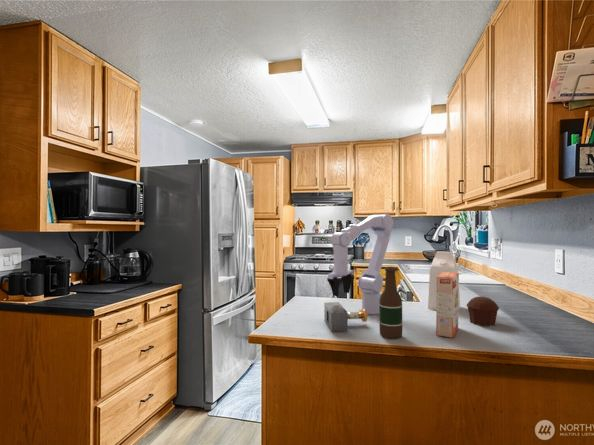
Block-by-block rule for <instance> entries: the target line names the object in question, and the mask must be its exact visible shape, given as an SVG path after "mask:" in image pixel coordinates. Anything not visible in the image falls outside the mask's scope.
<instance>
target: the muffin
mask: <svg viewBox="0 0 594 445" xmlns="http://www.w3.org/2000/svg"><path fill="white" fill-rule="evenodd" d="M466 307H467V312H468V316H469V322H470V323H471V324H473V325H475V326H480V327H495V326H496V321H497V316H498V311H499V309H500V306H498V304H497V303H496V302H495V301H494V300H493V299H491V298H489V297H486V296H476V297H473V298H471V299H469V301H468V302H467V304H466Z"/></svg>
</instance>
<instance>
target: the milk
mask: <svg viewBox="0 0 594 445" xmlns="http://www.w3.org/2000/svg"><path fill="white" fill-rule="evenodd" d="M443 272H453V273H459V266H458V264H457V261H456V259H455V257H454V255H453V253H452V251H438V250H437V251H436V252H435V255H434V257H433V259H432V262H431V265H430V268H429V278H428V279H429V281H428V283H429V284H428V297H427V298H428V300H427V301H428V302H427V309H428V310H433V311H434V310H435V311H436V283H437V276H438V275H440V274H441V273H443ZM460 298H461V295H460V286H459V287H458V311H459V310H460V308H461V299H460Z"/></svg>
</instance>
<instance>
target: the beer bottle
mask: <svg viewBox="0 0 594 445" xmlns="http://www.w3.org/2000/svg"><path fill="white" fill-rule="evenodd" d="M384 268H385V269H384V271H385V281H384V288H383V289H384V290H383V291H382V292H383V293H382V294H381V297H380V302H379V314H378V315H379V317H378V318H379V335H380V336H381V338H383V339H389V340H399V339H400V338H402V337H403V300H402V297H401V294H400V293H399V292H398V289H397V288H398V287H397V280H396V279H397V278H396V271H397V269H396V268H395V267H393V266H387V267H384Z"/></svg>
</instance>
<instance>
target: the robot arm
mask: <svg viewBox="0 0 594 445" xmlns="http://www.w3.org/2000/svg"><path fill="white" fill-rule="evenodd" d="M393 227H394V220H393V216H392V215H391V214H389V213H385V214H371V215H369V216H367V218H365V219H363V220H362V221H360V222H359V223H358V224H353V223H352V224H351V223H350V224H349V225H348V226H347V227H346V228H344V229H343V228H342V229H341V230H340V232H339V231H338V232H337V231H336V232H334V233H333V234H332V236H331V237H330V243H331V245H332V250H333V271H331V272H330V273H328V274H327V279H326V281H327V282H328V284H329V286H330V290H331V293H332V296H334V297H339V292H340V290H339V289H340V284H341V282H342V286H343V293H344V294H345V293H346V294H350V290H351V286H352V283H353V281H354V279H355V275H354V270H353V269H349V260H348V259H349V258H348V257H349V256H348V255H349V254H348V253H349V252H348V251H349V250H348V248H349V246H350V245H351V242H352V241H354V240H355V239H357V238H359V237H360V236H361V234H362V233H363V232H364V231H365V230H368V229H369V228H371V230H372V231H373V233H374V234H375V235H376V236H377V238H376V240H375V244H374V247H373V251H372V254H371V257H370V261H369V263H368V267H367V269H366V270H364V271H362V274H361V276H360V277H359V278H358V281H357V284H358V288H359V289H360V292H361V308H359V312H361V309H366V312H367V315H379V302H380V297H381V294H382V293H383V291H382V290H383V286H384V276H383V275H382V274H381V270H382V266H383V263H384V260H385V256H386V252H387V250H388V246H389V243H390V239H391V232H392V230H393ZM338 278H341V279H338ZM381 291H382V292H381Z"/></svg>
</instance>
